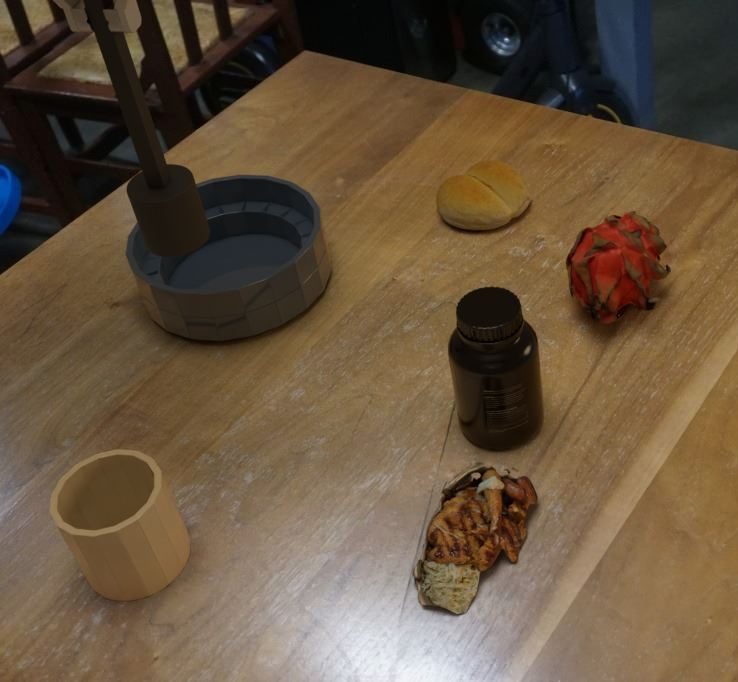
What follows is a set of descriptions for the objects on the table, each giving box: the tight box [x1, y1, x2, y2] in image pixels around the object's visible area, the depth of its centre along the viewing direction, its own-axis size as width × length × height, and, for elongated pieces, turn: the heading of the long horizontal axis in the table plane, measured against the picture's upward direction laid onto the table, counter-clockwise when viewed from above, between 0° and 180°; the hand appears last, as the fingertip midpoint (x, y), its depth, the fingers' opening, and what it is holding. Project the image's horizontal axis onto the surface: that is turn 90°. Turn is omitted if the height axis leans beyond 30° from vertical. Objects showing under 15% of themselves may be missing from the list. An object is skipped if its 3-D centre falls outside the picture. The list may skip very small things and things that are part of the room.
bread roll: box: [435, 160, 532, 231], centre depth 107 cm, size 8×9×4 cm
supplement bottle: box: [447, 286, 544, 450], centre depth 83 cm, size 7×7×12 cm
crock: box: [48, 448, 191, 602], centre depth 77 cm, size 7×7×8 cm
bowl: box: [125, 174, 332, 342], centre depth 100 cm, size 17×17×6 cm
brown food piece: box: [412, 457, 539, 615], centre depth 78 cm, size 7×12×4 cm, turn 163°
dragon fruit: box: [565, 210, 672, 325], centre depth 95 cm, size 8×8×12 cm
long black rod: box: [83, 0, 210, 257], centre depth 76 cm, size 5×5×21 cm
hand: (107, 28), depth 71 cm, fingers closed on long black rod
